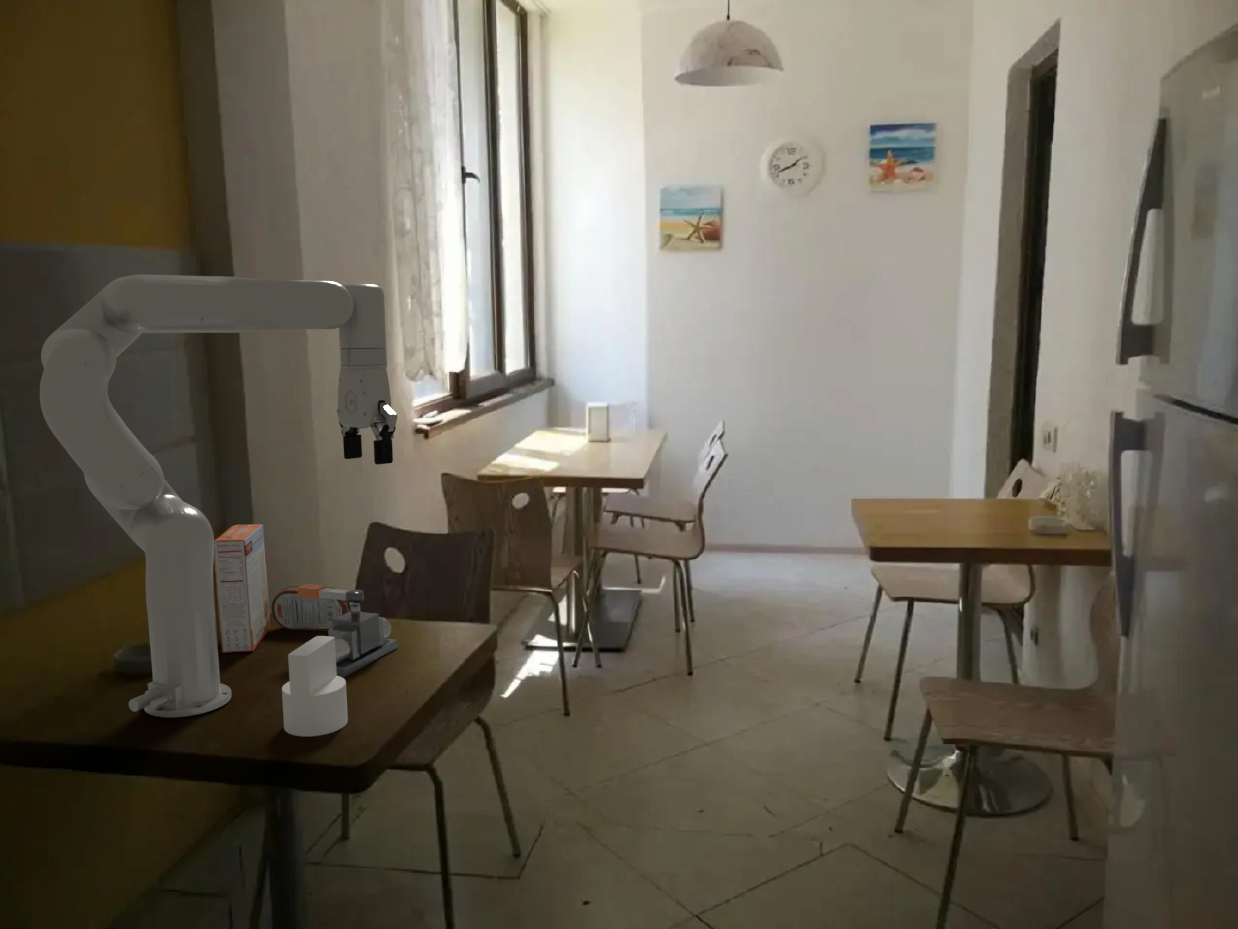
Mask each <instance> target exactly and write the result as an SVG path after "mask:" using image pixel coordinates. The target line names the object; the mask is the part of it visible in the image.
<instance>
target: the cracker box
mask: <svg viewBox="0 0 1238 929" xmlns="http://www.w3.org/2000/svg"><path fill="white" fill-rule="evenodd" d="M264 535H265V534H264V524H260V523H257V524H256V523H255V524H235V525H234V524H233V525H232V526H230V528H228V529H227V530H226V531H225V532H223V533H222V534H221V535H220V536H218V537H217V538H216V539H214V559H213V562H214V570H215V583H216V596H217V606H218V618H219V619H218V620H219V628H220V629H219V630H220V632H219V633H220V640H221V642H220V644H221V652H222V654H231V653H232V652H233V653H244V652H245V653H246V652H254V651H255V649H256V648H257V647H258V646H259V644H260V643H261V641H262V640H263V639H264V637H265V636H266V635H267V633H268V632H269V630H270V629H271V621H270V620H271V616H270V614H271V613H270V605H269V604H270V603H269V601H270V600H269V591H268V576H267V565H266V564H267V562H266V550H265V549H266V548H265V536H264ZM233 653H232V654H233Z"/></svg>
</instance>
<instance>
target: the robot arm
mask: <svg viewBox="0 0 1238 929" xmlns="http://www.w3.org/2000/svg"><path fill="white" fill-rule="evenodd" d="M385 308H386V307H385V292H384V290H383V288H382V287H381V286H380V285H377V284H371V283H350V284H349V283H348V284H343V285H342V284H340V283H339V282H336V281H332V280H307V279H306V280H303V279H270V278H269V279H266V278H265V279H264V278H253V277H252V278H250V277H241V276H218V275H215V276H214V275H213V276H212V275H210V276H209V275H208V276H207V275H178V274H176V275H175V274H174V275H172V274H169V275H168V274H167V275H166V274H131V275H127V276H121V277H118V278H116V279H114V280H112V281H111V282H110V283H108V284H106V286H105V287H103V288H102V289H101V290H100V291H99V292H98V293H96V294H95V296H94V297H93V298H92V299H90V300H89V301H88V302H87V303H86V304H84V306H82V307H81V308H80V309H79V310H77V311H76V312H75V313H74V314H73V315H72V316H71V317H70V318H68V319H67V320H66V321H65V322H63V324H61V325H60V326H59V327H58V328H57V329H55V330H54V331H53V332H52V333H51V334H49V335H48V337H47V339H46V340H45V342H43V345H42V348H41V354H40V361H41V364H42V366H43V371H42V374H41V378H40V384H39V403H40V409H41V412H42V416H43V417H44V420H45V422H46V424H47V426H48V428H49V429H50V431H51V432H52V434H53V435H54V437H55V439H56V440H57V441H58V442H59V443H60V444H61V446H62V447H63V449H65V451H66V452H67V453H68V455H69V457H70V458H71V459H72V460H73V461H74V463H75V464H77V466H78V468H79V469H81V471H82V472H83V477H84V481H85V484H86V486H87V488H88V489H89V491H90V492H91V493H92V495H93V497H95V499H96V500H97V501H98V502H99V503H100V504H101V506H102V507H103V508H104V509H105V510H106V511H107V513H108V514H109V515H110V516H111V517H112V518H113V519H114V521H115V522H116V523H117V524H118V526H120V527H121V529H123V531H124V532H125V533H126V535H128V537H129V538H130V539H131V540H132V541H133V542H134V543H135V545H136V546H137V547H139V548H140V549H141V550H142V551H143V552H144V554H145V555H144V556H145V598H146V599H145V601H146V612H147V621H148V623H147V624H148V633H149V634H148V635H149V645H150V658H151V659H150V660H151V671H152V672H151V673H152V681H151V682H148V683H147V688H148V689H147V690H145V692H144V693H143V694H142V695H139V696H136V697H134V698H132V699H129V701H128V707H129V709H130V710H131V711H132V712H133V713H134V712H138V711H140V710H142V709H143V710H144V712H145V713H147V714H149V715H150V716H153V717H158V718H169V719H170V718H185V717H191V716H196V715H202V714H206V713H208V712H212V711H214V710H217V709H218V708H219V709H220V708H221V707H223V706H225V705H226V704H228V703H229V701H230V700H231V698H232V689H231V687H229V686H228V685H226V684H224V683H221V678H220V662H219V649H218V634H217V618H216V617H217V616H216V607H215V606H216V604H215V591H214V588H215V587H214V541H215V536H214V531H213V528H212V525H211V523H210V521H209V520H208V518H207V517H206V515H205V514H204V513H203V512H202V511H201V510H199V508H197V507H195V506H193V505H191V504H189V503H187V502H184V501H183V499H182V498H181V497H180V496H179V495H178V493H177V492H176V491H175V490H174V489H173V488H172V487H171V485H170V484H169V483H168V481H167V480H166V479H165V477H164V472H163V469H162V467H161V465H160V463H159V461H158V460H157V459H156V458H155V456H154V455H153V454H151V453H150V452H149V451H148V449H147V448H145V446H144V445H143V444H142V443H141V441H140V440H139V439H138V438H137V437H136V435H135V434H134V433H133V432H132V431H131V429H130V428H129V427H128V426H127V425H126V423H125V422H124V420H123V418H121V416H120V415H119V413H118V412H117V411H116V409H114V408H115V407H113V404H112V403H111V401H110V398H109V394H108V388H109V382H110V379H111V378H112V375H113V374H114V372H115V370H116V364H117V358H118V357H119V356H120V355H121V354H122V353H124V351H126V349H128V347H130V346H131V345H132V344H133V343H134V342H136V340H137V339H138V338H139V337H140V336H141V335H142V334H186V333H187V334H193V333H194V334H198V333H200V334H201V333H202V334H203V333H204V334H207V333H209V334H220V333H221V334H224V333H227V334H230V333H234V334H235V333H236V334H237V333H239V334H240V333H249V332H256V331H271V330H272V331H273V330H335V329H338V337H339V338H338V339H339V357H340V367H339V368H340V369H339V375H338V385H337V388H338V390H337V408H336V413H337V417H338V418H337V420H338V424H339V426H340V428H341V430H340V432H341V435H342V440H343V442H342V443H343V458H344V459H346V460H351V459H360V458H362V457H363V443H362V434H360V431H361V429H362V430H363V429H369V428H370V429H371V431H372V433H373V435H374V437H375V439H374V440H373V457H374V459H373V460H374V461H373V462H374V464H375V465H379V466H380V465H386V464H387V465H388V464H392V463H393V462H394V457H393V456H394V454H393V453H394V452H393V451H394V450H393V440H394V438H395V432H396V429H397V428H396V425H397V420H398V414H397V413H396V412H395V411H394V410H393V409H392V401H391V400H392V399H391V398H392V397H391V389H390V382H389V376H388V371H387V368H388V364H387V363H388V362H387V361H388V360H387V358H388V356H387V339H386V338H387V335H386V334H387V333H386V312H385V311H386V309H385Z"/></svg>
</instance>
